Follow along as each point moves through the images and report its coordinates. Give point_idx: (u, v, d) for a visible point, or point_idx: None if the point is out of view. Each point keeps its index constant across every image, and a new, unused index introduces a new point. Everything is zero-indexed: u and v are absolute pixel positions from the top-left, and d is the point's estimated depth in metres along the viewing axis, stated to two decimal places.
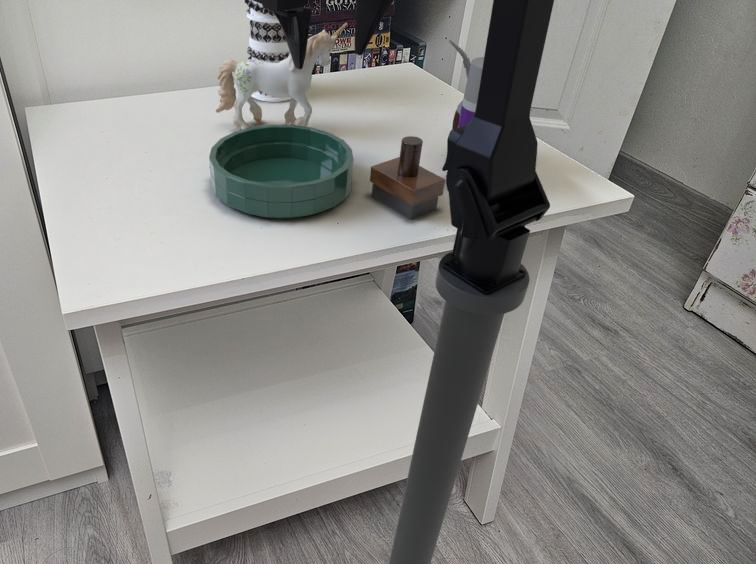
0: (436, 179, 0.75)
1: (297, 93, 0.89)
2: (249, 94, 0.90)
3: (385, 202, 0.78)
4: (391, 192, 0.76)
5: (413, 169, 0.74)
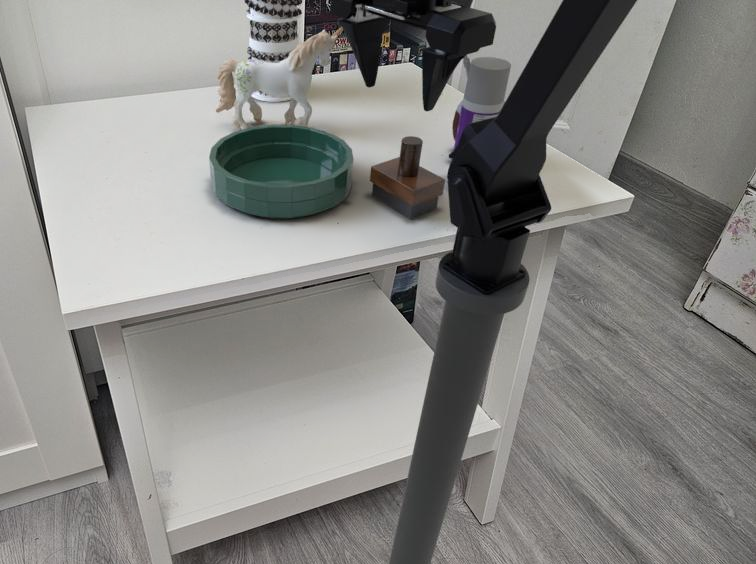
0: (436, 179, 0.75)
1: (297, 93, 0.89)
2: (249, 94, 0.90)
3: (385, 202, 0.78)
4: (391, 192, 0.76)
5: (413, 169, 0.74)
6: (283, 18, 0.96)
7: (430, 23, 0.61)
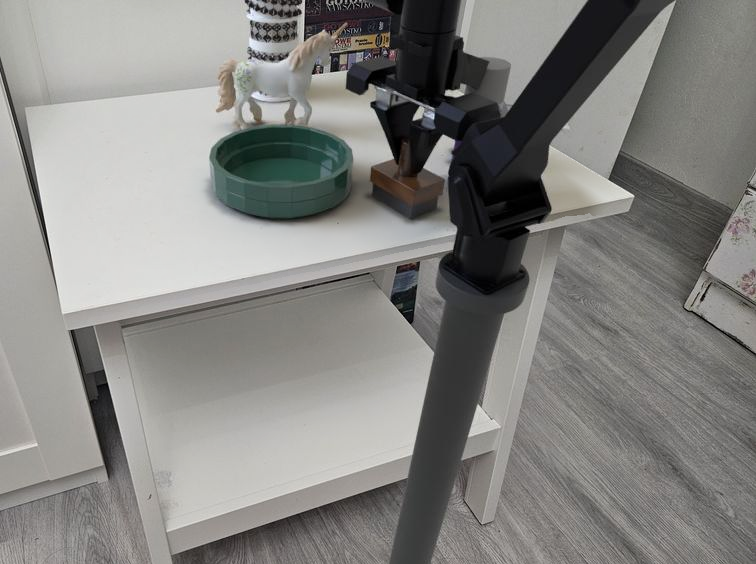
0: (436, 179, 0.75)
1: (297, 93, 0.89)
2: (249, 94, 0.90)
3: (385, 202, 0.78)
4: (391, 192, 0.76)
5: None
6: (283, 18, 0.96)
7: (438, 110, 0.65)
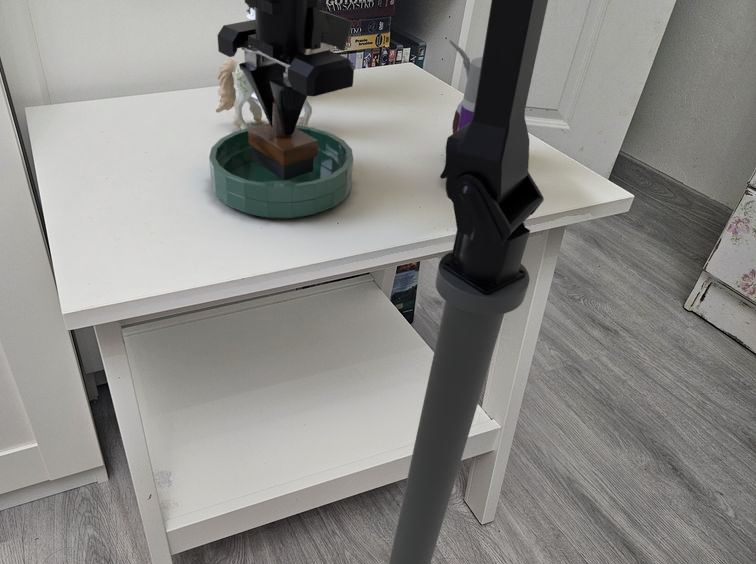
0: (308, 140, 0.76)
1: None
2: (249, 94, 0.90)
3: (263, 164, 0.79)
4: (266, 153, 0.77)
5: None
6: None
7: (290, 67, 0.66)
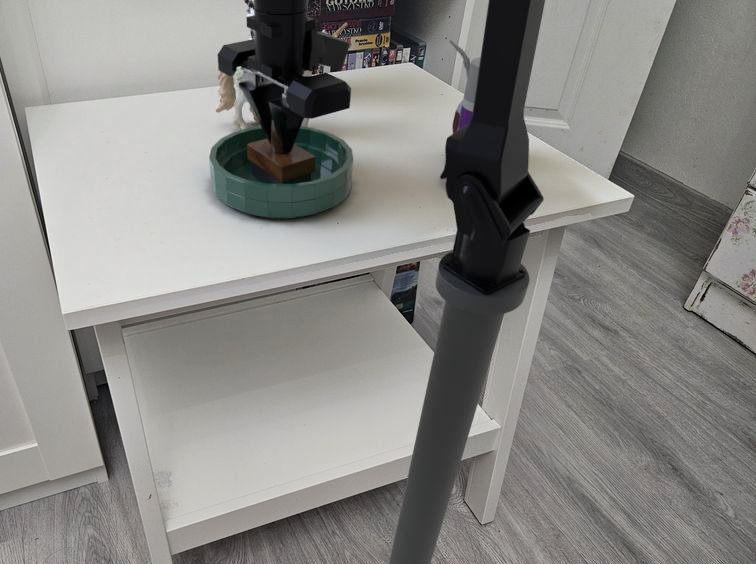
0: (306, 156, 0.77)
1: None
2: None
3: (262, 179, 0.80)
4: (265, 169, 0.78)
5: None
6: None
7: (289, 89, 0.67)
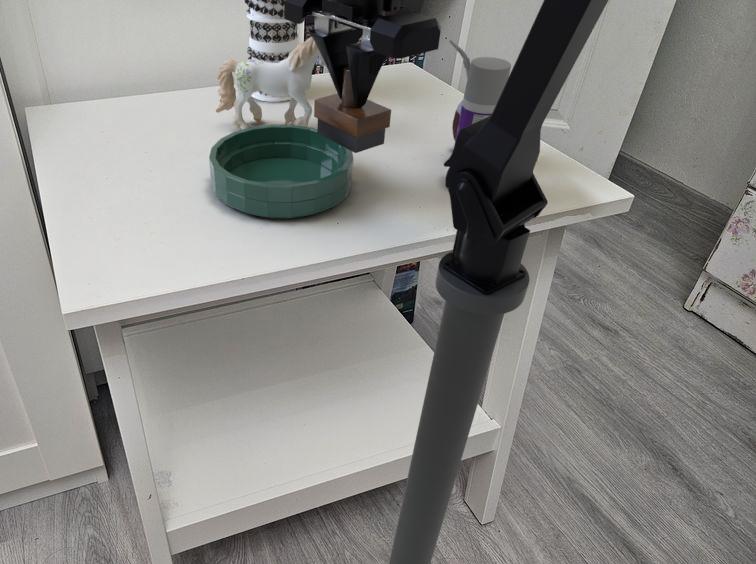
0: (381, 109, 0.71)
1: (297, 93, 0.89)
2: (249, 94, 0.90)
3: (330, 137, 0.74)
4: (335, 125, 0.72)
5: None
6: (283, 18, 0.96)
7: (373, 28, 0.61)
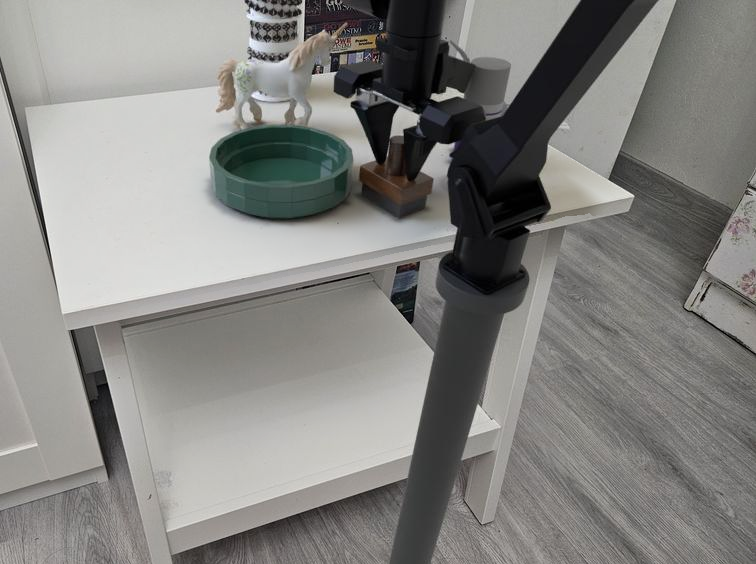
0: (424, 178, 0.75)
1: (297, 93, 0.89)
2: (249, 94, 0.90)
3: (374, 201, 0.78)
4: (380, 191, 0.76)
5: (402, 168, 0.75)
6: (283, 18, 0.96)
7: (423, 114, 0.65)
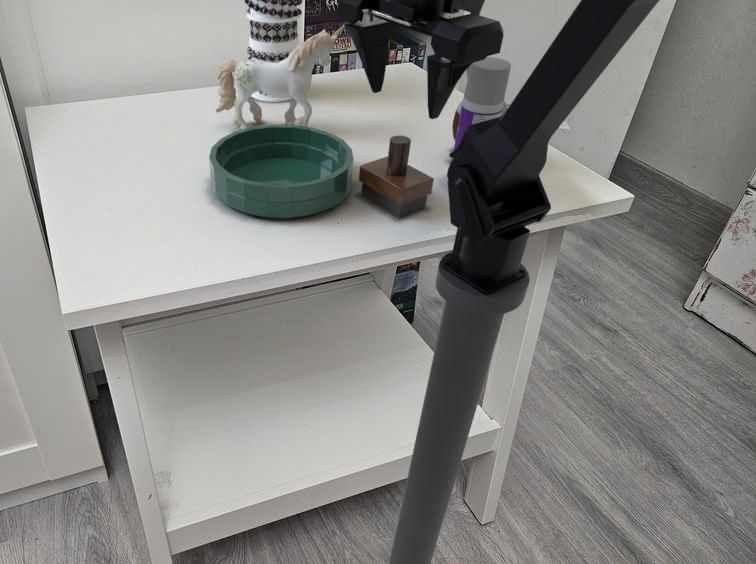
0: (424, 178, 0.75)
1: (297, 93, 0.89)
2: (249, 94, 0.90)
3: (374, 201, 0.78)
4: (380, 191, 0.76)
5: (402, 168, 0.75)
6: (283, 18, 0.96)
7: (435, 30, 0.60)
